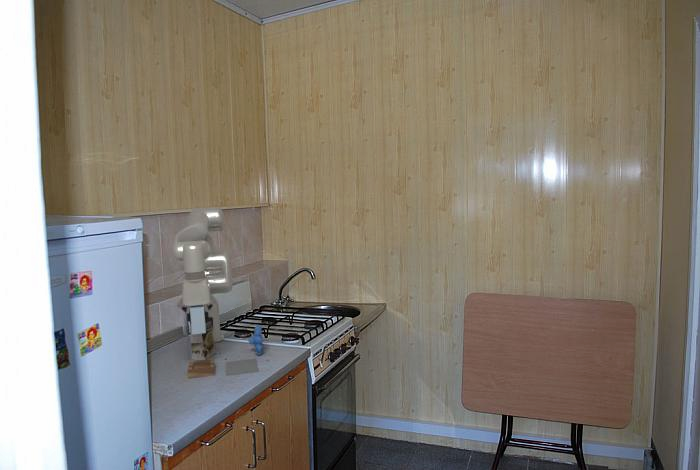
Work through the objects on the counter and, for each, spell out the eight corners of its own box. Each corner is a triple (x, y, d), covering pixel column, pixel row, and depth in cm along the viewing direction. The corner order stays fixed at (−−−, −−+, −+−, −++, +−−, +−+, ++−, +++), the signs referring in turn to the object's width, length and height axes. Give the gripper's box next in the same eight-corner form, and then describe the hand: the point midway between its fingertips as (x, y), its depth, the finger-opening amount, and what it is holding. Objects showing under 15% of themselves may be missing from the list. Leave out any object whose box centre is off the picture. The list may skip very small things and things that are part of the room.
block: (192, 330, 186) (190, 305, 185) (206, 329, 187) (204, 304, 186) (192, 334, 181) (190, 308, 180) (205, 333, 182) (203, 307, 181)
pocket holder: (189, 369, 189) (189, 362, 188) (215, 366, 191) (214, 359, 191) (188, 378, 179) (187, 370, 179) (214, 375, 182) (214, 367, 181)
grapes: (249, 350, 209) (247, 323, 208) (264, 348, 210) (263, 321, 209) (249, 359, 198) (247, 330, 197) (265, 357, 199) (263, 329, 198)
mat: (225, 363, 194) (225, 362, 194) (255, 359, 197) (255, 358, 197) (225, 375, 181) (225, 374, 181) (258, 371, 184) (258, 370, 184)
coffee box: (205, 360, 198) (202, 322, 197) (191, 359, 200) (188, 322, 198) (216, 352, 207) (213, 316, 206) (202, 352, 209) (199, 316, 207)
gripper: (218, 272, 187) (221, 317, 189) (172, 276, 183) (176, 322, 185) (218, 275, 180) (221, 322, 182) (170, 279, 176) (174, 327, 178)
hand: (198, 321), depth 183 cm, fingers closed on block, 5 cm apart
